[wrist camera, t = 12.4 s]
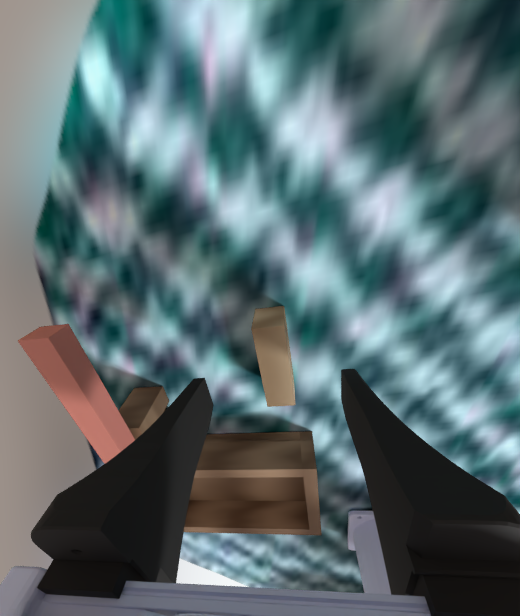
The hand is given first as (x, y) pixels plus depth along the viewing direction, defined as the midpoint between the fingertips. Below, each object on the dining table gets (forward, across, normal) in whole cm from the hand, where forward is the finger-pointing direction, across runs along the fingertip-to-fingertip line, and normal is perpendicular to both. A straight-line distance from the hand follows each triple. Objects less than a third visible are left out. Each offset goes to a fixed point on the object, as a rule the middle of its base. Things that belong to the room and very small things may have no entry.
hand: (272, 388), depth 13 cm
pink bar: (0, +10, 0) cm, 10 cm away
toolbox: (+4, +5, +11) cm, 13 cm away
